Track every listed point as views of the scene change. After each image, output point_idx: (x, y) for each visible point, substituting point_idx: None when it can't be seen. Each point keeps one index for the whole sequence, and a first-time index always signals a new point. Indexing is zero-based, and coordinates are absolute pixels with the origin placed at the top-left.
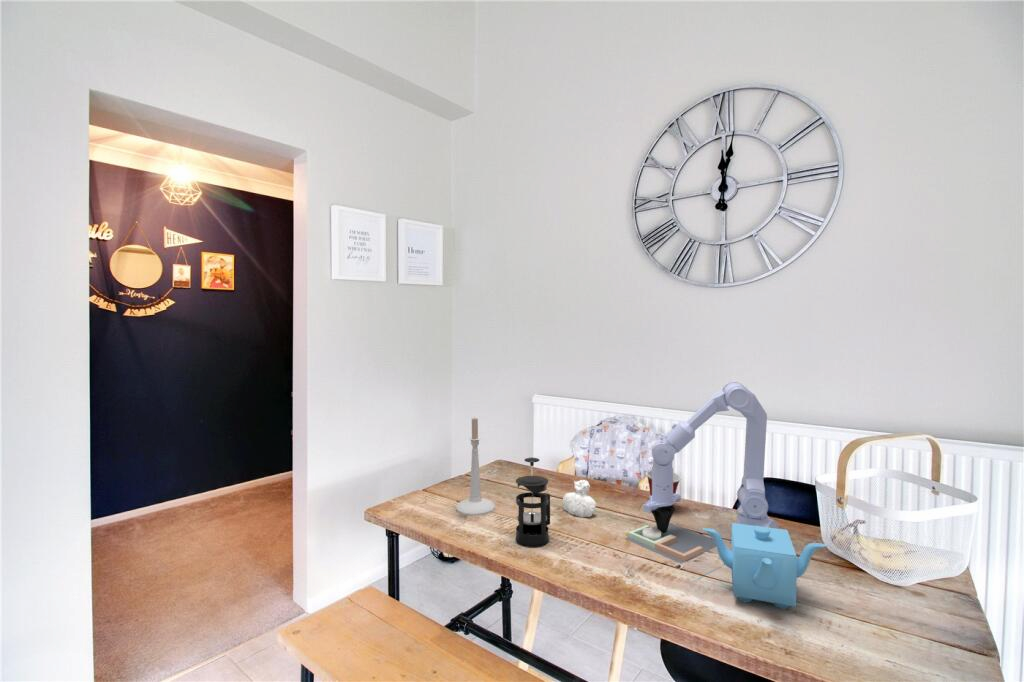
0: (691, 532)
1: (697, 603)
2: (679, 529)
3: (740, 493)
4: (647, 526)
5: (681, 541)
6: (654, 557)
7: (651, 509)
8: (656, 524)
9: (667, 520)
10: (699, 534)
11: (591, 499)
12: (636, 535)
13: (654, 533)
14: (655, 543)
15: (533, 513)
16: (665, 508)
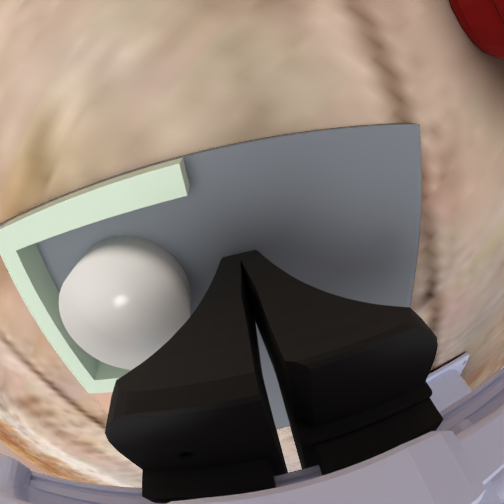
0: (398, 302)
1: (107, 482)
2: (389, 251)
3: (500, 492)
4: (164, 194)
5: (269, 366)
6: (78, 391)
7: (70, 500)
8: (213, 278)
9: (277, 378)
10: None
11: None
12: (22, 293)
13: (123, 350)
14: (91, 394)
15: None
16: (304, 464)
